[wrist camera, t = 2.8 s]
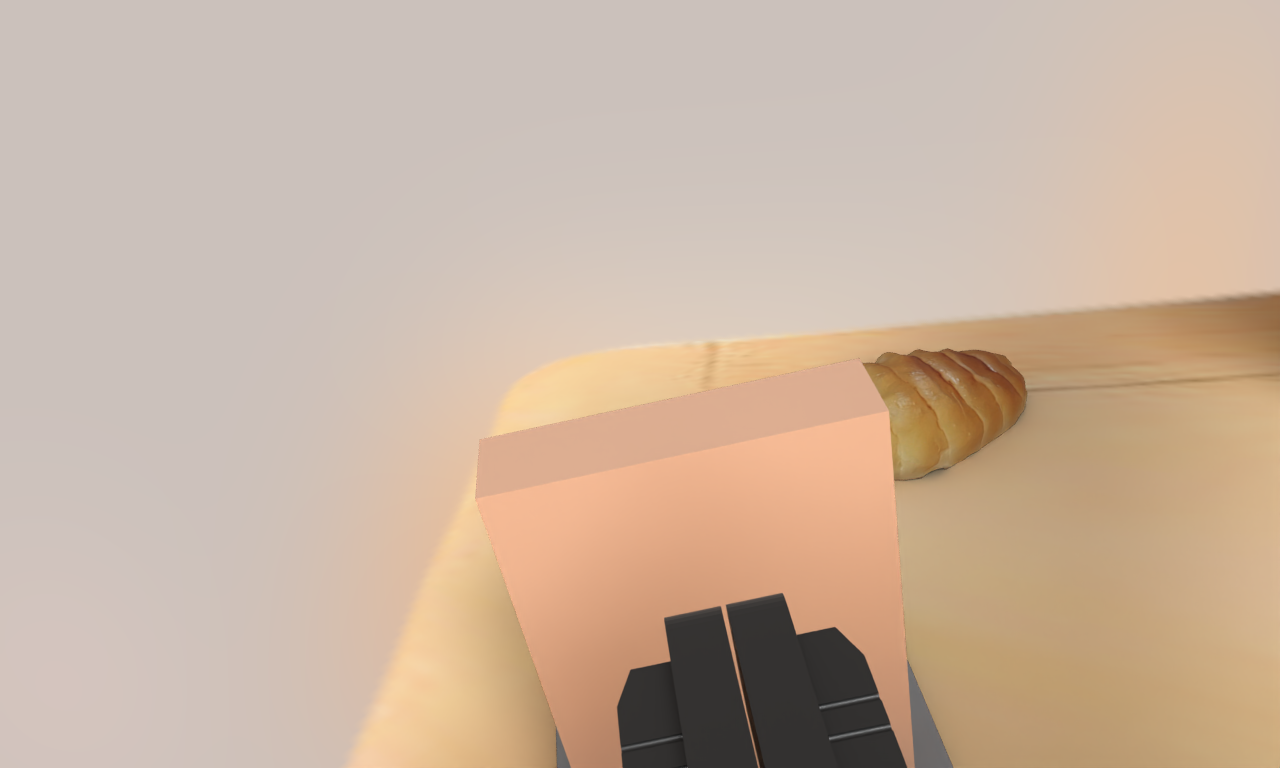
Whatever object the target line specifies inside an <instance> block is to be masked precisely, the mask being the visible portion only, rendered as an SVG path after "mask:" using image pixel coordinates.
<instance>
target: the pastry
mask: <svg viewBox="0 0 1280 768" xmlns="http://www.w3.org/2000/svg"><path fill="white" fill-rule="evenodd" d="M862 364H863V366H864V367H865V369H866V371H867V373H868V374H869V376H870V378H871V380H872V382H873V383H874V385H875V387H876V389H877V390H878V392H879V394H880V396H881V398H882V399H883V401H884V403H885V405H886V406H887V408H888V410H889V419H890V432H891V446H892V460H893V474H894V480H909V479H917V478H922V477H923V476H925V475H926V474H927V473H929V472H931V471H933V470H936V469H939V468H945V469H947V468H949V467H951V466H953V465H955V464H956V463H958V462H961V461H963V460H965V458H966V457H968V456H969V455H971V454H973V453H975V452H977V451H979V450H980V449H981V448H982V447H984V446H985V445H987V444H988V443H990V442H991V441H993V440H994V439H996V438H997V437H999V436H1000V435H1002V434H1003V433H1004V432H1006V431H1007V430H1008V429H1009V428H1011V427H1012V426H1013V425H1014V424H1015V423H1016V421H1017V420H1018V418H1019V416H1020V415H1021V413H1022V412H1023V410H1024V407H1025V404H1026V399H1027V391H1026V388H1025V381H1024V378H1023V376H1022V375H1021V374H1020V373H1019V372H1018V371H1017V370H1016V369H1015V368H1014V367H1013V366H1012V365H1011V362H1010V361H1009V360H1008V359H1007V358H1006V357H1005V356H1004V355H999V354H995V353H990V352H986V351H981V350H968V351H960V352H956V351H953V350H950V349H945V350H941V351H939V352H927V351H923V350H920V349H919V350H915V351H913V352H912V353H910V354H908V355H899V354H897V353H891V352H887V353H884V354H882V355H881V356H880V357H879V358H878V359H877V361H876V363H862Z"/></svg>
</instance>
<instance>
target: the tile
mask: <svg viewBox="0 0 1280 768" xmlns="http://www.w3.org/2000/svg"><path fill="white" fill-rule="evenodd" d="M475 499H476V502H477V505H478V508H479V511H480V513H481V516H482V519H483V522H484V525H485V527H486V530H487V533H488V536H489V539H490V541H491V544H492V547H493V550H494V553H495V556H496V558H497V561H498V564H499V567H500V570H501V572H502V575H503V578H504V581H505V584H506V586H507V589H508V592H509V595H510V598H511V601H512V603H513V606H514V609H515V612H516V615H517V617H518V620H519V623H520V626H521V629H522V631H523V634H524V637H525V640H526V643H527V645H528V648H529V651H530V654H531V657H532V660H533V662H534V665H535V668H536V671H537V674H538V676H539V679H540V682H541V685H542V688H543V690H544V693H545V696H546V699H547V702H548V704H549V707H550V710H551V713H552V716H553V719H554V721H555V724H556V727H557V730H558V733H559V735H560V738H561V741H562V744H563V747H564V749H565V752H566V755H567V758H568V761H569V763H570V766H571V768H623V767H622V757H621V753H622V751H621V746H620V736H619V725H618V714H617V705H618V702H619V700H620V697H621V694H622V691H623V689H624V686H625V683H626V680H627V678H628V675H629V672H630V670H631V669H636V668H641V667H645V666H650V665H655V664H660V663H665V662H669V661H671V660H670V654H669V648H668V642H667V635H666V629H665V622H664V618H665V617H670V616H675V615H679V614H684V613H689V612H694V611H699V610H703V609H708V608H713V607H718V606H721V609H722V613H723V617H724V622H725V626H726V630H727V635H728V639H729V643H730V647H731V652H732V656H733V660H734V665H735V669H736V673H737V678H738V682H739V686H740V691H741V695H742V699H743V704H744V708H745V712H746V717H747V721H748V725H749V730H750V734H751V738H752V743H753V747H754V751H755V756H756V760H757V764H758V768H760V767H759V762H758V758H757V754H756V750H755V745H754V741H753V737H752V732H751V728H750V723H749V719H748V714H747V710H746V705H745V700H744V696H743V691H742V686H741V681H740V676H739V671H738V666H737V661H736V655H735V650H734V645H733V640H732V635H731V630H730V625H729V620H728V615H727V610H726V604H731V603H736V602H740V601H745V600H750V599H755V598H760V597H764V596H769V595H774V594H779V593H783V595H784V597H785V600H786V603H787V606H788V609H789V612H790V615H791V618H792V622H793V625H794V628H795V631H796V634H797V635H798V634H803V633H808V632H812V631H817V630H822V629H827V628H832V627H836V628H837V629H838V630H839V631H840V632H841V633H842V634H843V635H844V636H845V637H846V638H847V639H848V640H849V641H850V642H851V643H852V644H853V645H855V646H856V647H857V648H858V649H859V650H860V651H861V652H862V653H863V654H864V655H865V658H866V660H867V663H868V666H869V668H870V671H871V674H872V676H873V679H874V681H875V684H876V687H877V689H878V692H879V696H880V699H881V700H882V702H883V705H884V708H885V710H886V713H887V715H888V718H889V721H890V724H891V728H892V730H893V731H894V734H895V736H896V739H897V742H898V744H899V747H900V749H901V752H902V755H903V757H904V760H905V762H906V765H907V768H915V764H914V750H913V736H912V722H911V708H910V695H909V681H908V667H907V653H906V639H905V626H904V612H903V598H902V584H901V570H900V557H899V543H898V529H897V515H896V501H895V488H894V474H893V460H892V446H891V432H890V419H889V410H888V408H887V406H886V405H885V403H884V401H883V399H882V398H881V396H880V394H879V392H878V390H877V389H876V387H875V385H874V383H873V382H872V380H871V378H870V376H869V374H868V373H867V371H866V369H865V367H864V366H863V364H862V362H861V360H860V358H858V359H853V360H849V361H844V362H839V363H835V364H830V365H825V366H821V367H816V368H811V369H807V370H802V371H797V372H793V373H788V374H783V375H779V376H774V377H769V378H765V379H760V380H755V381H751V382H746V383H741V384H737V385H732V386H727V387H723V388H718V389H713V390H709V391H704V392H699V393H695V394H690V395H685V396H681V397H676V398H671V399H667V400H662V401H657V402H653V403H648V404H643V405H639V406H634V407H629V408H625V409H620V410H615V411H611V412H606V413H601V414H597V415H592V416H587V417H583V418H578V419H573V420H569V421H564V422H559V423H555V424H550V425H545V426H541V427H536V428H531V429H527V430H522V431H517V432H513V433H508V434H503V435H499V436H494V437H489V438H485V439H480V441H479V455H478V469H477V483H476V497H475Z"/></svg>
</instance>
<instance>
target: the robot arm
mask: <svg viewBox="0 0 1280 768" xmlns="http://www.w3.org/2000/svg"><path fill="white" fill-rule="evenodd" d="M726 610H727V615H728V620H729V625H730V630H731V635H732V640H733V645H734V650H735V655H736V661H737V666H738V671H739V676H740V681H741V686H742V691H743V696H744V700H745V705H746V710H747V714H748V719H749V723H750V728H751V732H752V737H753V741H754V745H755V750H756V754H757V758H758V762H759V767H760V768H907V765H906V762H905V760H904V757H903V755H902V752H901V749H900V747H899V744H898V742H897V739H896V736H895V734H894V731H893V730H892V728H891V724H890V721H889V718H888V715H887V713H886V710H885V708H884V705H883V702H882V700H881V699H880V696H879V692H878V689H877V687H876V684H875V681H874V679H873V676H872V674H871V671H870V668H869V666H868V663H867V660H866V658H865V655H864V654H863V653H862V652H861V651H860V650H859V649H858V648H857V647H856V646H855V645H853V644H852V643H851V642H850V641H849V640H848V639H847V638H846V637H845V636H844V635H843V634H842V633H841V632H840V631H839V630H838V629H837V628H836V627H832V628H827V629H822V630H817V631H812V632H808V633H803V634H798V635H797V634H796V631H795V628H794V625H793V622H792V618H791V615H790V612H789V609H788V606H787V603H786V600H785V597H784V595H783V593H779V594H774V595H769V596H764V597H760V598H755V599H750V600H745V601H740V602H736V603H731V604H726ZM664 622H665V629H666V635H667V642H668V648H669V654H670V660H671V661H669V662H665V663H660V664H655V665H650V666H645V667H641V668H636V669H631V670H630V672H629V675H628V678H627V680H626V683H625V686H624V689H623V691H622V694H621V697H620V700H619V702H618V705H617V714H618V725H619V736H620V746H621V751H622V753H621V757H622V767H623V768H758V764H757V760H756V756H755V751H754V747H753V743H752V738H751V734H750V730H749V725H748V721H747V717H746V712H745V708H744V704H743V699H742V695H741V691H740V686H739V682H738V678H737V673H736V669H735V665H734V660H733V656H732V652H731V647H730V643H729V639H728V635H727V630H726V626H725V622H724V617H723V613H722V609H721V606H718V607H713V608H708V609H703V610H699V611H694V612H689V613H684V614H679V615H675V616H670V617H665V618H664Z"/></svg>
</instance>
